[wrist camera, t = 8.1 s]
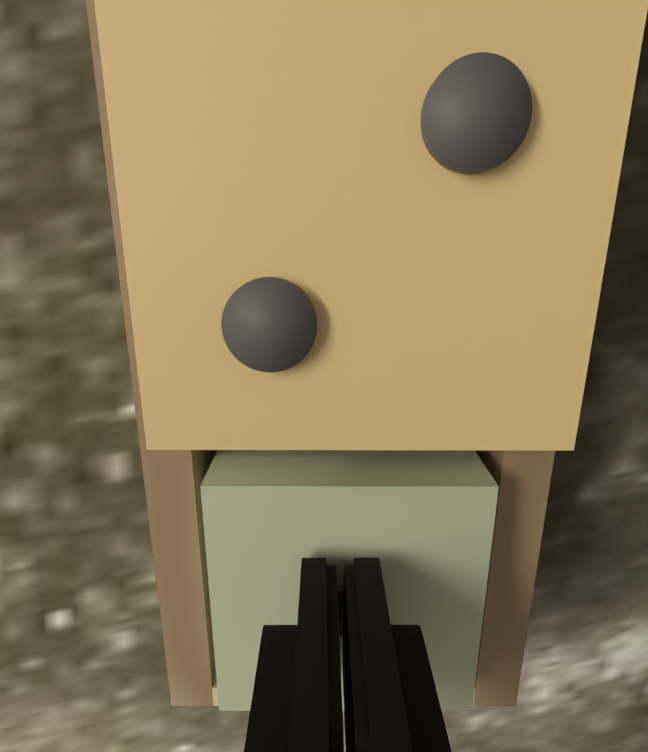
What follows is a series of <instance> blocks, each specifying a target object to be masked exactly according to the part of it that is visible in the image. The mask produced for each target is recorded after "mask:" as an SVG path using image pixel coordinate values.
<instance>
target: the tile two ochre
mask: <svg viewBox="0 0 648 752" xmlns="http://www.w3.org/2000/svg"><path fill="white" fill-rule="evenodd" d="M94 4H95V13H96V21H97V30H98V38H99V47H100V55H101V64H102V72H103V81H104V89H105V98H106V107H107V115H108V124H109V132H110V141H111V149H112V158H113V166H114V175H115V183H116V192H117V200H118V209H119V217H120V226H121V234H122V243H123V251H124V260H125V268H126V277H127V286H128V294H129V303H130V311H131V320H132V328H133V337H134V345H135V354H136V362H137V371H138V379H139V388H140V396H141V405H142V413H143V422H144V430H145V439H146V447H147V450H535V451H574V446H575V441H576V435H577V429H578V423H579V417H580V411H581V405H582V399H583V393H584V387H585V381H586V375H587V369H588V363H589V357H590V351H591V345H592V339H593V333H594V327H595V321H596V315H597V309H598V303H599V297H600V291H601V285H602V279H603V273H604V267H605V261H606V255H607V249H608V243H609V237H610V231H611V225H612V219H613V213H614V207H615V201H616V195H617V189H618V183H619V177H620V171H621V165H622V159H623V153H624V147H625V142H626V136H627V130H628V124H629V118H630V112H631V106H632V100H633V94H634V88H635V82H636V76H637V70H638V64H639V58H640V52H641V46H642V40H643V34H644V28H645V22H646V16H647V10H648V0H94Z"/></svg>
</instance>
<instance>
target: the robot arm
mask: <svg viewBox="0 0 648 752" xmlns="http://www.w3.org/2000/svg"><path fill="white" fill-rule="evenodd" d="M343 695H344V717H345V739H346V752H451V748H450V744H449V740H448V736H447V731H446V727H445V723H444V719H443V715H442V711H441V707H440V703H439V699H438V695H437V691H436V686H435V682H434V678H433V674H432V670H431V666H430V662H429V658H428V654H427V650H426V646H425V641H424V637H423V634H422V630H421V627H420V626H419V625H391V623H390V617H389V611H388V605H387V600H386V594H385V588H384V582H383V576H382V570H381V564H380V559H379V558H354V561H353V565H344V599H343ZM244 752H344V743H343V712H342V687H341V663H340V639H339V614H338V590H337V566H336V565H327V559H326V558H302V560H301V575H300V591H299V607H298V623H297V625H264V626H263V629H262V635H261V641H260V648H259V655H258V662H257V668H256V675H255V682H254V689H253V695H252V702H251V709H250V716H249V722H248V729H247V736H246V742H245V749H244Z"/></svg>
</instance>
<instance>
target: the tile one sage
mask: <svg viewBox="0 0 648 752" xmlns="http://www.w3.org/2000/svg"><path fill="white" fill-rule="evenodd" d="M200 488H201V500H202V512H203V524H204V536H205V548H206V560H207V572H208V584H209V596H210V608H211V620H212V632H213V644H214V656H215V668H216V680H217V692H218V703H219V711H250V709H251V702H252V695H253V689H254V682H255V675H256V668H257V662H258V655H259V648H260V641H261V635H262V629H263V626H264V625H297V623H298V607H299V591H300V575H301V560H302V558H326V559H327V565H336V566H337V590H338V614H339V639H340V663H341V687H342V711H344V695H343V599H344V565H353V561H354V558H379V559H380V564H381V570H382V576H383V582H384V588H385V594H386V600H387V605H388V611H389V617H390V623H391V625H419V626H420V627H421V630H422V634H423V637H424V641H425V646H426V650H427V654H428V658H429V662H430V666H431V670H432V674H433V678H434V682H435V686H436V691H437V695H438V699H439V703H440V707H441V711H472V705H473V697H474V688H475V680H476V672H477V663H478V655H479V647H480V638H481V630H482V622H483V613H484V605H485V597H486V588H487V580H488V572H489V563H490V555H491V547H492V538H493V530H494V522H495V513H496V505H497V497H498V488H499V486H498V485H497V483H496V482H495V480H494V479H493V477H492V476H491V474H490V473H489V471H488V470H487V468H486V467H485V465H484V464H483V462H482V461H481V459H480V458H479V456H478V455H477V453H476V452H475V450H217V452H216V454H215V456H214V458H213V461H212V463H211V465H210V467H209V469H208V471H207V473H206V475H205V477H204V479H203V482H202V484H201V486H200Z"/></svg>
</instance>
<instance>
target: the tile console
mask: <svg viewBox="0 0 648 752" xmlns="http://www.w3.org/2000/svg"><path fill="white" fill-rule="evenodd" d="M86 7H87V15H88V23H89V31H90V39H91V48H92V56H93V64H94V72H95V81H96V89H97V97H98V105H99V113H100V122H101V130H102V138H103V146H104V155H105V163H106V171H107V179H108V187H109V196H110V204H111V212H112V220H113V229H114V237H115V245H116V253H117V261H118V270H119V278H120V286H121V294H122V303H123V311H124V319H125V327H126V335H127V344H128V352H129V360H130V368H131V377H132V385H133V393H134V401H135V409H136V418H137V426H138V434H139V442H140V451H141V459H142V467H143V475H144V484H145V492H146V500H147V508H148V516H149V525H150V533H151V541H152V549H153V558H154V566H155V574H156V582H157V590H158V599H159V607H160V615H161V623H162V632H163V640H164V648H165V656H166V664H167V673H168V681H169V689H170V697H171V706H219V703H218V692H217V680H216V668H215V656H214V644H213V632H212V620H211V608H210V596H209V584H208V572H207V560H206V548H205V536H204V524H203V512H202V500H201V488H200V486H201V484H202V482H203V479H204V477H205V475H206V473H207V471H208V469H209V467H210V465H211V463H212V461H213V458H214V456H215V454H216V452H217V450H147V447H146V439H145V430H144V422H143V413H142V405H141V396H140V388H139V379H138V371H137V362H136V354H135V345H134V337H133V328H132V320H131V311H130V303H129V294H128V286H127V277H126V268H125V260H124V251H123V243H122V234H121V226H120V217H119V209H118V200H117V192H116V183H115V175H114V166H113V158H112V149H111V141H110V132H109V124H108V115H107V107H106V98H105V89H104V81H103V72H102V64H101V55H100V47H99V38H98V30H97V21H96V13H95V4H94V0H86ZM475 452H476V453H477V455H478V456H479V458H480V459H481V461H482V462H483V464H484V465H485V467H486V468H487V470H488V471H489V473H490V474H491V476H492V477H493V479H494V480H495V482H496V483H497V485H498V486H499V488H498V497H497V505H496V513H495V522H494V530H493V538H492V547H491V555H490V563H489V572H488V580H487V588H486V597H485V605H484V613H483V622H482V630H481V638H480V647H479V655H478V663H477V672H476V680H475V688H474V697H473V705H472V706H516V701H517V694H518V688H519V681H520V675H521V668H522V662H523V655H524V649H525V642H526V636H527V629H528V623H529V617H530V610H531V604H532V597H533V591H534V584H535V578H536V571H537V565H538V558H539V552H540V545H541V539H542V533H543V526H544V520H545V513H546V507H547V500H548V494H549V487H550V481H551V474H552V468H553V462H554V455H555V451H535V450H475Z"/></svg>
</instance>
